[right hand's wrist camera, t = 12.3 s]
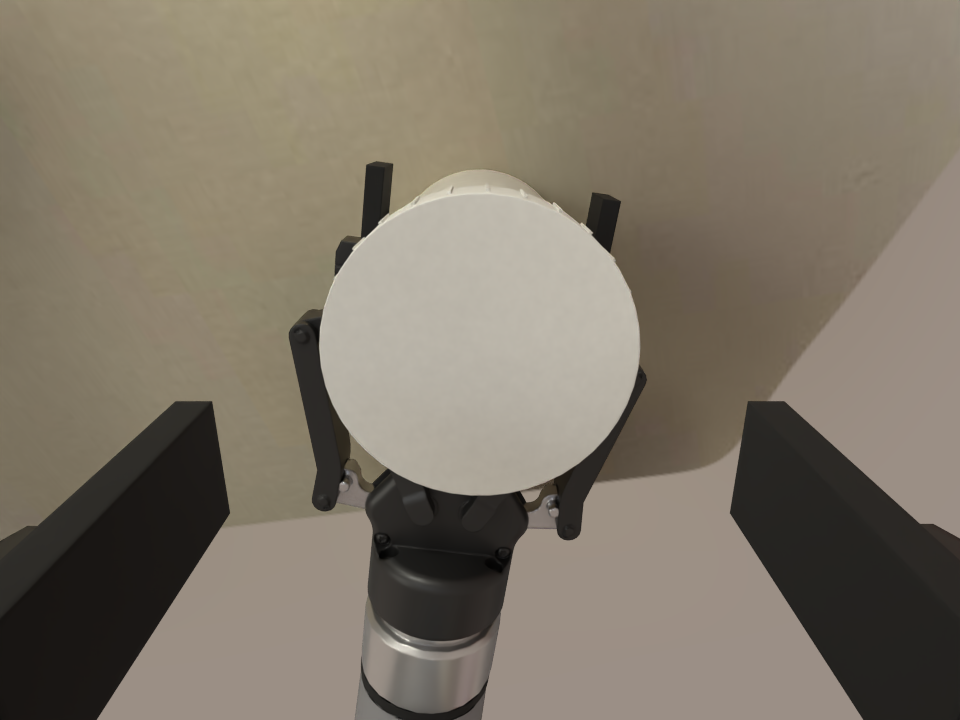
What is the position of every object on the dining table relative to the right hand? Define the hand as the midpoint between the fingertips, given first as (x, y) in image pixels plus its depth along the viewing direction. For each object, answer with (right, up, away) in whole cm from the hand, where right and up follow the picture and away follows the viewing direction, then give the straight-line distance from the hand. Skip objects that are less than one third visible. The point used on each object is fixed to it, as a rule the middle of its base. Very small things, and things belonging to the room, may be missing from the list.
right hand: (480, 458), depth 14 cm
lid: (0, +2, +6) cm, 7 cm away
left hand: (+1, +10, +14) cm, 17 cm away
